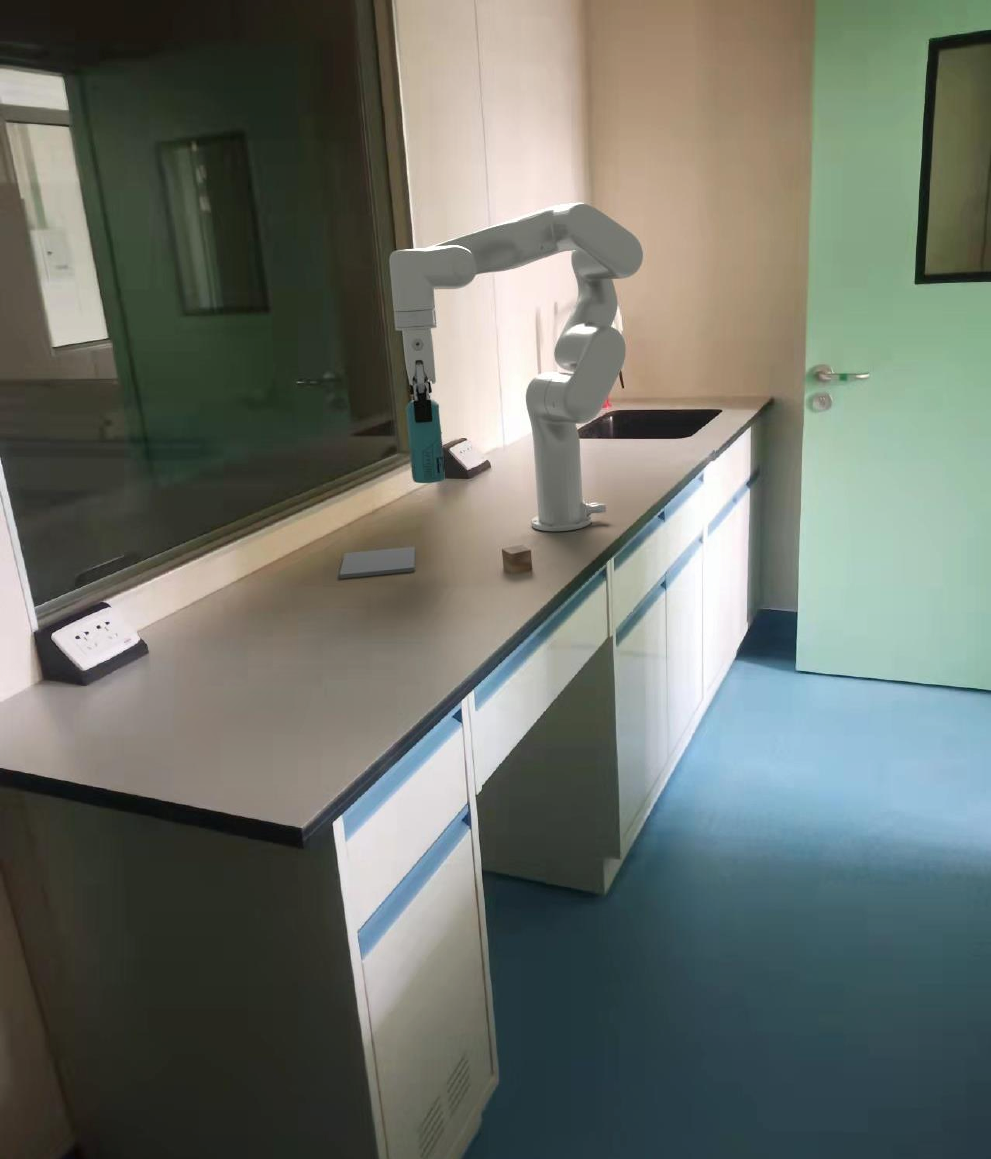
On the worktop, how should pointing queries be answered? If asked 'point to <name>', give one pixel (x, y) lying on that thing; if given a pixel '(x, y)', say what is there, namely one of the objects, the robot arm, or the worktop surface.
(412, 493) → the worktop surface
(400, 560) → the rubber mat
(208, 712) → the worktop surface
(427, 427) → the beverage bottle
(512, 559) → the walnut block
